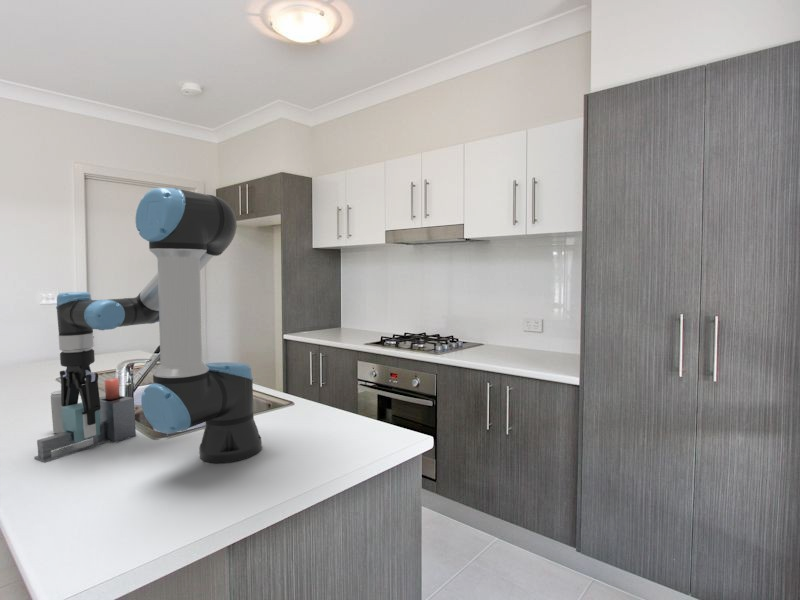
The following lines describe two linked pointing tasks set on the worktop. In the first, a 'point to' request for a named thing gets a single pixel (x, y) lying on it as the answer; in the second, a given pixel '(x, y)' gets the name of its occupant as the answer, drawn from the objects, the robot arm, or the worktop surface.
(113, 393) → the red block
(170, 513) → the worktop surface
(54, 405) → the beverage can
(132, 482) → the worktop surface
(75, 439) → the carriage
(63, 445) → the rail station
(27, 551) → the worktop surface
